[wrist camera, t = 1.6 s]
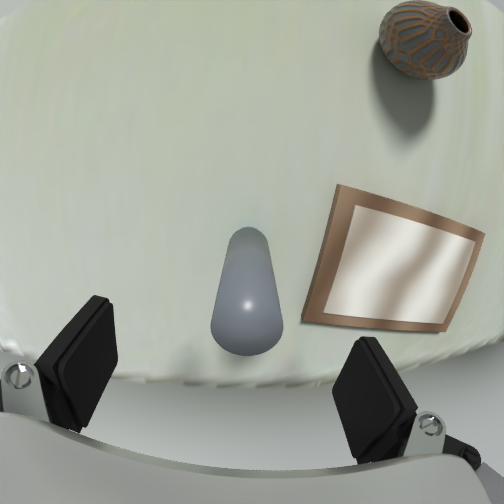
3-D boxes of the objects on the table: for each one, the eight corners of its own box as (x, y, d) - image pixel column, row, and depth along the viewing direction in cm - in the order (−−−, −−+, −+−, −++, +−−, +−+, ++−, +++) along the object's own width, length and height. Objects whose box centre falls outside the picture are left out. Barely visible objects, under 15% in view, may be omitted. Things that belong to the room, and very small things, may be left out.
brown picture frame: (479, 230, 22) (486, 234, 21) (441, 327, 26) (446, 333, 25) (337, 184, 21) (341, 185, 20) (301, 315, 25) (303, 322, 24)
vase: (420, 25, 15) (472, -5, 7) (439, 88, 18) (503, 75, 9) (358, 16, 16) (402, -30, 8) (379, 84, 18) (440, 58, 10)
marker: (270, 226, 22) (291, 303, 11) (263, 261, 23) (274, 359, 12) (233, 220, 22) (215, 291, 11) (227, 255, 23) (206, 350, 12)
